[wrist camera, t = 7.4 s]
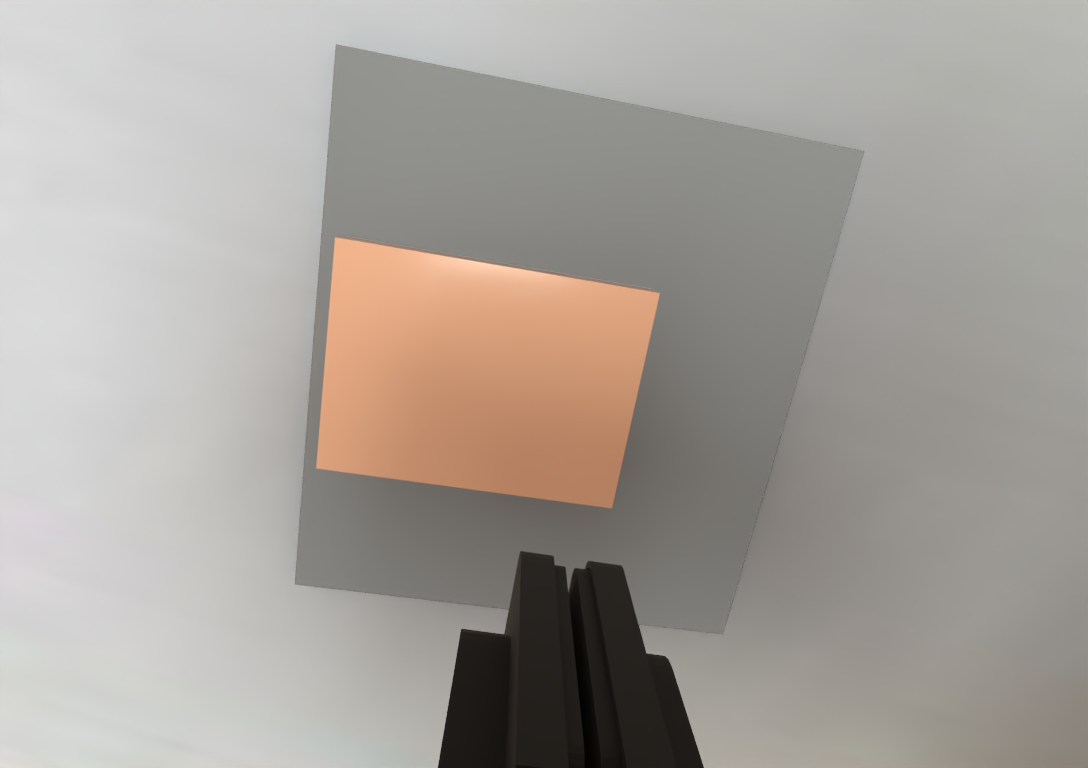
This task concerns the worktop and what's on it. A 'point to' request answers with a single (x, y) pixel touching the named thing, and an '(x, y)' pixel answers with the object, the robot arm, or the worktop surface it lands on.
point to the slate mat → (595, 252)
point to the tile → (480, 373)
